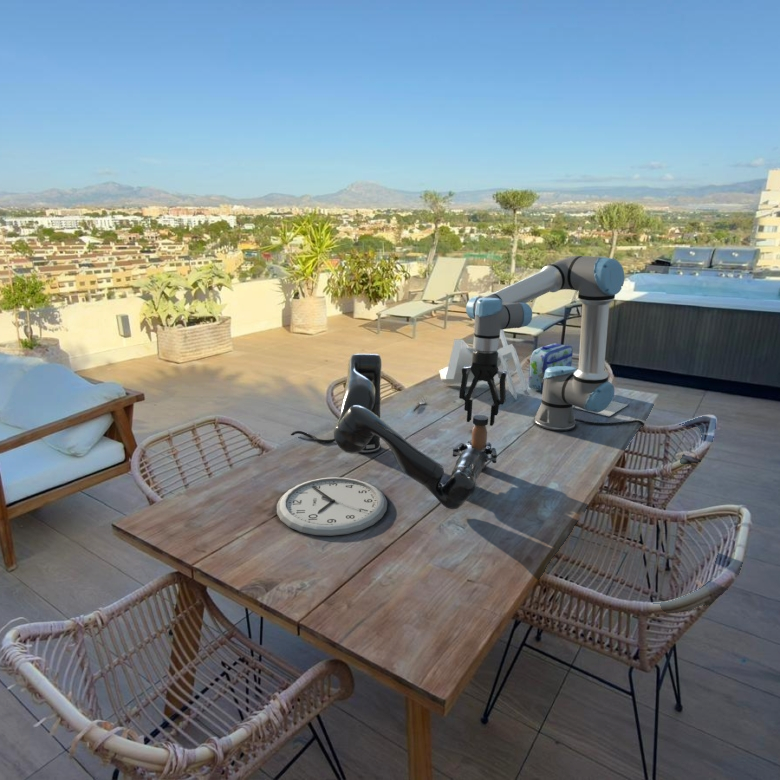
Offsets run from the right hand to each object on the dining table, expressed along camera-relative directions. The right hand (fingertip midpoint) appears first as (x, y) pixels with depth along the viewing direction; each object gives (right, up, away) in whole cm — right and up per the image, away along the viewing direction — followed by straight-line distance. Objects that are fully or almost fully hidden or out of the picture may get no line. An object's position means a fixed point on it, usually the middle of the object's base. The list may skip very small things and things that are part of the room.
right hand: (480, 422), depth 163 cm
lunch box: (+48, +11, +89) cm, 102 cm away
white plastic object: (+13, +9, +80) cm, 82 cm away
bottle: (0, -14, +5) cm, 15 cm away
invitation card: (+63, +3, +63) cm, 89 cm away
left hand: (+1, -7, +5) cm, 9 cm away
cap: (0, +1, 0) cm, 1 cm away
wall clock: (-44, -21, -20) cm, 53 cm away
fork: (-16, +3, +59) cm, 61 cm away
